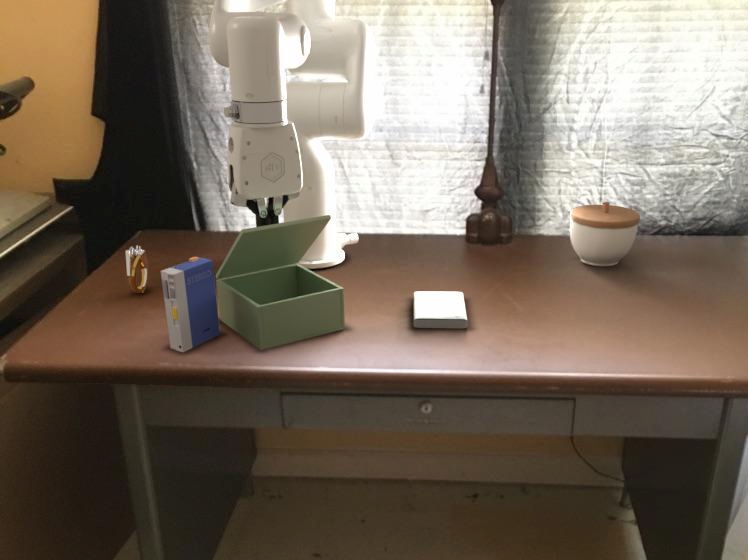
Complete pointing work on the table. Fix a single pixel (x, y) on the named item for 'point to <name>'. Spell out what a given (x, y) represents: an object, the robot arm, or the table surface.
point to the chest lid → (271, 246)
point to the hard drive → (439, 310)
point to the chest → (280, 305)
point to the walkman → (190, 303)
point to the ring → (132, 272)
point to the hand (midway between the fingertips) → (268, 240)
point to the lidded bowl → (603, 233)
